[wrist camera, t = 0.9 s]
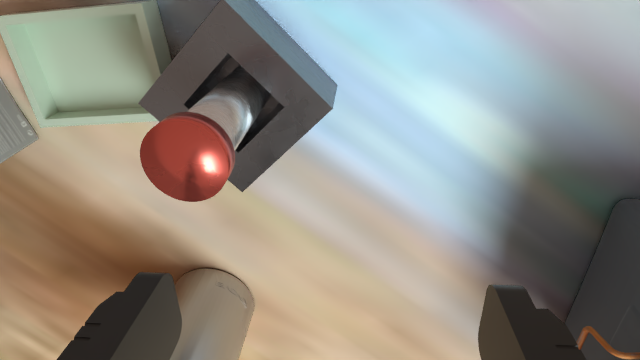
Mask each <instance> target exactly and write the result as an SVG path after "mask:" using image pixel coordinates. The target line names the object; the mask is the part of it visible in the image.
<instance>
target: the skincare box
mask: <svg viewBox="0 0 640 360" xmlns="http://www.w3.org/2000/svg"><path fill="white" fill-rule="evenodd" d="M36 140H38V136H37V135H36V133H35V131H34V130H33V128H32V127H31V125H30V124H29V122H28V121H27V119H26V118H25V116H24V115H23V113H22V112H21V110H20V109H19V107H18V106H17V104H16V103H15V101H14V99H13V98H12V96H11V95H10V93H9V91H8V90H7V88H6V86H5V85H4V83H3V81H2V79H1V78H0V163H2V162H3V161H5V160H6V159H8V158H10V157H11V156H13V155H14V154H16V153H17V152H19V151H20V150H22V149H24V148H25V147H27V146H28V145H30V144H31V143H33V142H35V141H36Z"/></svg>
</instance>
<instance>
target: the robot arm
mask: <svg viewBox="0 0 640 360" xmlns="http://www.w3.org/2000/svg"><path fill="white" fill-rule="evenodd" d="M253 311H254V300H253V297H252V295H251V292H250V291H249V290H248V288H247V287H246V286H245V285H244V284H243V283H242V282H241V281H240V280H239V279H237V278H236V277H234V276H232V275H230V274H228V273H226V272H223V271H219V270H215V269H197V270H193V271H190V272H188V273H186V274H184V275H183V276H182V277H181V278H179V280H178V281H177V283H176V284H175V285H174V281H173V278H172V276H171V274H169V273H149V272H140V273H138V274H137V275H136V276H135V277H134V279H133V280H132V281H131V283H130V284H129V286H128V287H127V288H126V290H125V291H124V292H116V293H115V294H113V295H112V296H111V297H109V298H108V299H107V300H105V301H104V302H103V303H101V304H100V305H99V306H98V307H97V308H96V309H95V310H94V312H93V313H92V314H91V316H90V317H89V318H88V320H87V321H86V322H85V326H82V327H81V329H80V330H79V331H78V333H77V334H76V335H75V337H74V340H73V341H71V342H70V343H69V344H68V346H67V347H66V348H65V350H64V351H63V352H62V353H61V355H60V356H59V357H58V359H57V360H239V356H240V353H241V350H242V347H243V343H244V340H245V337H246V334H247V331H248V328H249V324H250V321H251V318H252V315H253ZM478 343H479V351H480V356H481V359H482V360H587V359H586V358H585V356H584V354H583V353H582V351H581V350H579V348H578V344H577V342H576V341H575V339H574V337H573V336H572V334H571V332H570V331H569V329H568V327H567V326H566V325H565V324H564V323H563V322H562V321H561V320H560V319H558V318H557V317H556V316H555V315H554V314H553V313H552V312H551V311H550V310H548V309H536V308H535V306H534V304H533V302H532V300H531V298H530V297H529V295H528V293H527V291H526V289H525V288H524V287H523V286H508V285H489V286H488V288H487V292H486V296H485V301H484V306H483V311H482V316H481V321H480V326H479V333H478Z"/></svg>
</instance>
